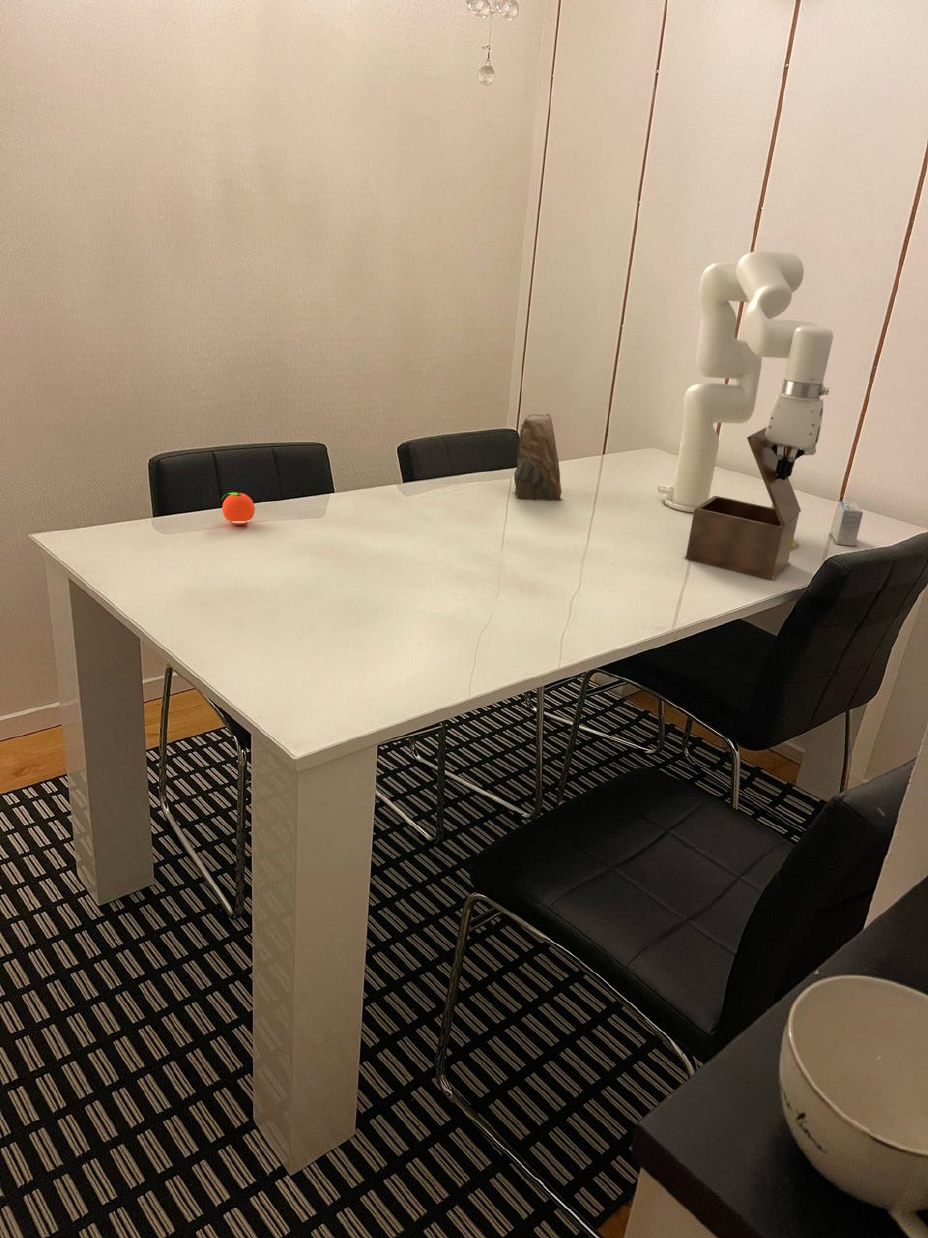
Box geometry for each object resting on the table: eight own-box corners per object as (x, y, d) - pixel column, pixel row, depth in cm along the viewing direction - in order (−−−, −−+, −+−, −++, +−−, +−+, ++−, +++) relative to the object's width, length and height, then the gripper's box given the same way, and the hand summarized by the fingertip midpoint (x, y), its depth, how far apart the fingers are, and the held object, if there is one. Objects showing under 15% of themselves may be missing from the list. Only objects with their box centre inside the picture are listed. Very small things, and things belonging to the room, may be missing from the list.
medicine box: (855, 546, 223) (864, 511, 220) (835, 544, 224) (844, 509, 220) (849, 536, 230) (857, 502, 227) (830, 534, 231) (838, 500, 228)
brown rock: (514, 499, 238) (521, 421, 230) (504, 485, 250) (511, 410, 242) (561, 500, 241) (571, 423, 233) (550, 486, 252) (558, 412, 244)
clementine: (212, 524, 204) (210, 492, 201) (230, 516, 210) (229, 485, 207) (243, 531, 201) (242, 499, 198) (261, 522, 207) (260, 491, 204)
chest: (685, 558, 206) (694, 508, 202) (705, 543, 217) (714, 495, 213) (771, 580, 198) (782, 528, 193) (787, 562, 209) (799, 513, 204)
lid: (746, 437, 191) (750, 435, 191) (764, 427, 202) (768, 426, 202) (781, 526, 193) (785, 525, 192) (797, 512, 204) (801, 510, 204)
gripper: (843, 393, 189) (822, 482, 196) (769, 382, 196) (752, 468, 203) (835, 398, 183) (814, 489, 190) (759, 386, 190) (742, 474, 197)
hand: (782, 478), depth 197 cm, fingers closed
